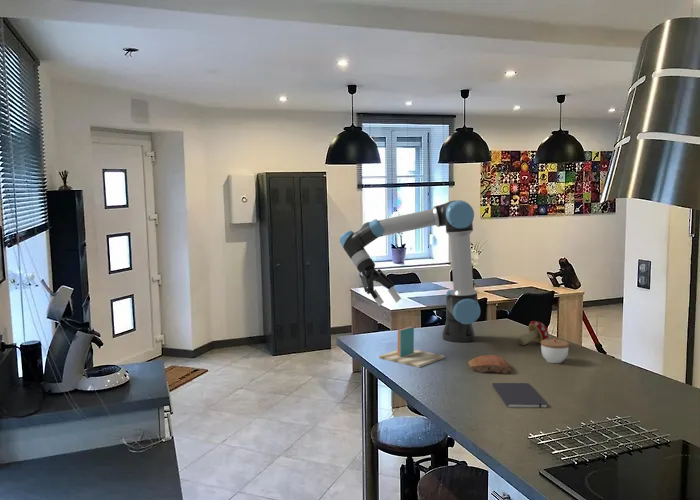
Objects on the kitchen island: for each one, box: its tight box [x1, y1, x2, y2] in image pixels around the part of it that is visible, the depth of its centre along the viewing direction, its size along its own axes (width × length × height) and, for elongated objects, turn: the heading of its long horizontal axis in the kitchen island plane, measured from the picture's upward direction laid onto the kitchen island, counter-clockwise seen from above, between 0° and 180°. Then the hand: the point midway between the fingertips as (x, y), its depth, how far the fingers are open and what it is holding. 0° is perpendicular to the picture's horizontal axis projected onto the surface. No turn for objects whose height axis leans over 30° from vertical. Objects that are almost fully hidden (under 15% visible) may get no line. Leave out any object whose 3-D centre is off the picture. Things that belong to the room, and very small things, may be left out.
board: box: [378, 348, 445, 368], centre depth 243 cm, size 20×18×1 cm
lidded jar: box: [540, 337, 570, 364], centre depth 237 cm, size 11×11×9 cm
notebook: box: [492, 382, 548, 408], centre depth 196 cm, size 13×2×21 cm
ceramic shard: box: [468, 354, 512, 375], centre depth 228 cm, size 15×6×15 cm
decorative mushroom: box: [517, 320, 549, 346], centre depth 265 cm, size 11×11×15 cm
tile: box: [397, 326, 415, 357], centre depth 244 cm, size 2×9×11 cm, turn 138°
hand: (390, 302), depth 248 cm, fingers open, 13 cm apart
